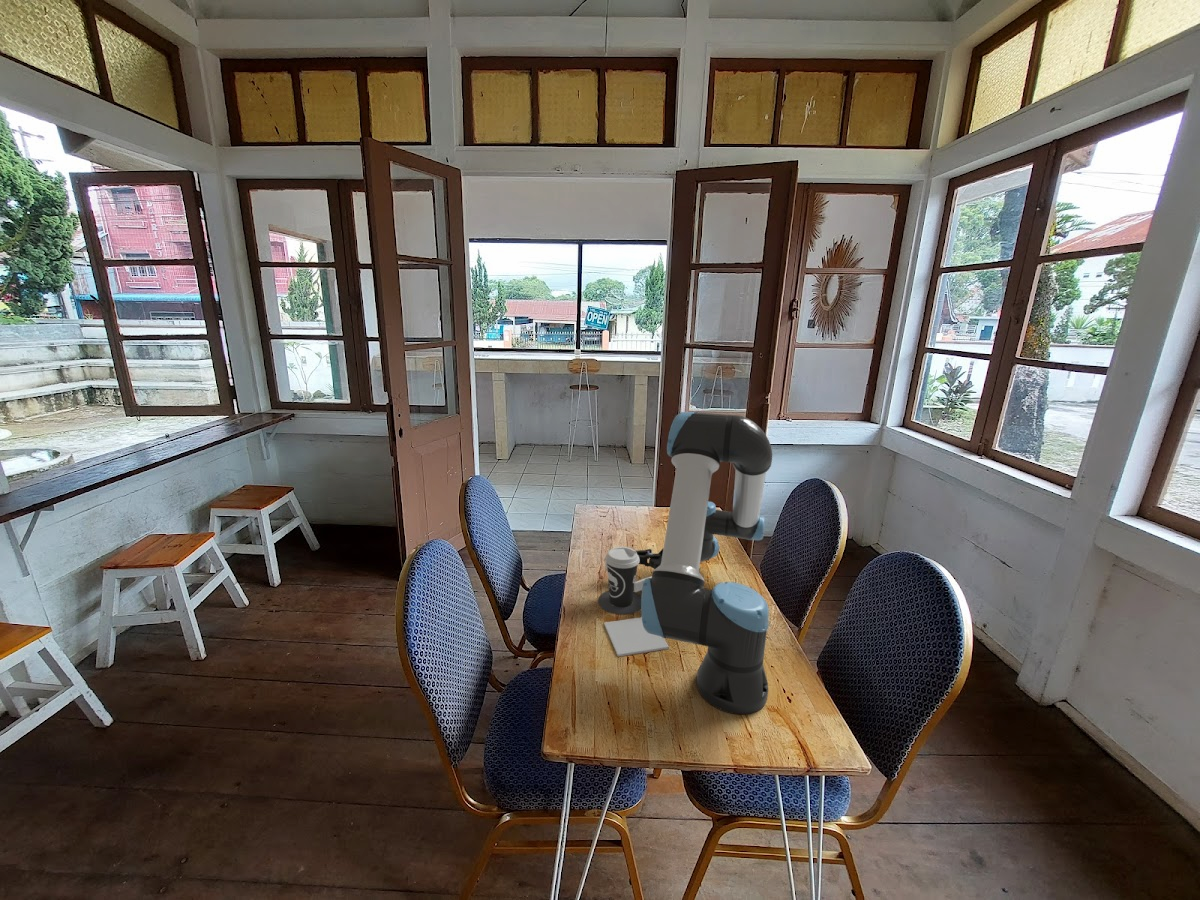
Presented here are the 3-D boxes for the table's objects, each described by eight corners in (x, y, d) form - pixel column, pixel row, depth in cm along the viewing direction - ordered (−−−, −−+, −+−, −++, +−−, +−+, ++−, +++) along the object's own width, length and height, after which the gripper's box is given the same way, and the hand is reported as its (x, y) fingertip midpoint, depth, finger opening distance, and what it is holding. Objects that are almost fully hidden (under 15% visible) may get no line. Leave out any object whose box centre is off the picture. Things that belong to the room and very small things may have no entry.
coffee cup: (635, 612, 136) (637, 563, 132) (601, 608, 138) (602, 559, 134) (639, 594, 145) (642, 547, 141) (607, 590, 147) (608, 543, 143)
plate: (668, 648, 122) (668, 646, 121) (617, 656, 118) (617, 654, 118) (650, 618, 134) (650, 616, 134) (603, 624, 131) (604, 622, 130)
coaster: (650, 611, 137) (650, 611, 137) (604, 617, 134) (604, 617, 134) (635, 586, 149) (635, 586, 149) (593, 591, 146) (593, 591, 146)
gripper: (705, 586, 142) (647, 609, 130) (649, 552, 162) (595, 569, 150) (707, 563, 140) (648, 584, 128) (650, 531, 160) (595, 546, 148)
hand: (619, 576), depth 139 cm, fingers open, 13 cm apart
